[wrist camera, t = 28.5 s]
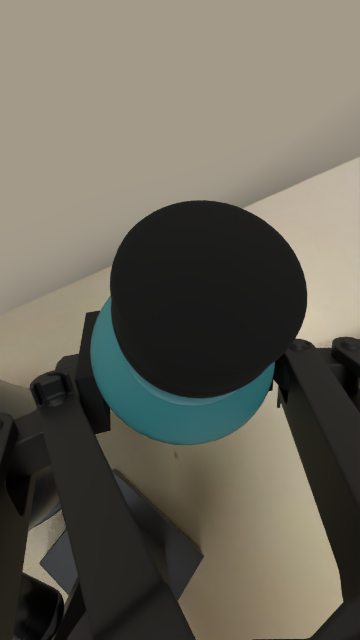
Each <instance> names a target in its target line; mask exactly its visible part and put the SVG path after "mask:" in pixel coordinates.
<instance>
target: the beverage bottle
mask: <svg viewBox="0 0 360 640" xmlns="http://www.w3.org/2000/svg"><path fill="white" fill-rule="evenodd" d="M110 291H111V296H110V297H109V299H108V300H107V301H106V303H105V304H104V306H103V307H102V309H101V311H100V313H99V315H98V317H97V320H96V323H95V325H94V329H93V333H92V338H91V349H90V353H91V365H92V370H93V375H94V378H95V380H96V383H97V386H98V388H99V390H100V392H101V394H102V396H103V398H104V400H105V401H106V403H107V404H108V405H109V407H110V408H111V409H112V411H113V412H114V413H115V414H116V415H117V416H118V417H119V418H120V419H121V420H122V421H123V422H124V423H126V424H127V425H128V426H129V427H131V428H132V429H134V430H135V431H137V432H139V433H140V434H142V435H145V436H147V437H149V438H151V439H154V440H157V441H160V442H164V443H169V444H175V445H196V444H204V443H208V442H212V441H215V440H218V439H220V438H223V437H225V436H227V435H229V434H231V433H233V432H235V431H236V430H238V429H239V428H240V427H242V426H243V425H244V424H245V423H247V421H248V420H249V419H250V418H251V417H252V416H253V415H254V414H255V413H256V411H257V410H258V409H259V407H260V406H261V404H262V403H263V401H264V399H265V397H266V395H267V393H268V391H269V388H270V385H271V383H272V378H273V374H274V368H275V361H276V360H277V359H279V358H280V357H281V356H282V355H283V354H284V353H285V352H286V351H287V350H288V348H289V347H290V345H291V344H292V343H293V341H294V340H295V338H296V336H297V334H298V332H299V330H300V328H301V326H302V323H303V320H304V317H305V313H306V307H307V288H306V281H305V277H304V273H303V270H302V268H301V265H300V262H299V260H298V258H297V257H296V255H295V253H294V251H293V250H292V248H291V247H290V245H289V244H288V243H287V242H286V240H285V239H284V238H283V237H282V236H281V235H280V234H279V233H278V232H277V231H276V230H275V229H274V228H273V227H272V226H270V225H269V224H268V223H267V222H265V221H264V220H262V219H261V218H259V217H258V216H256V215H254V214H252V213H250V212H248V211H246V210H244V209H241V208H239V207H237V206H233V205H230V204H227V203H221V202H216V201H206V200H205V201H204V200H203V201H186V202H180V203H176V204H172V205H169V206H166V207H164V208H161V209H159V210H157V211H155V212H153V213H151V214H150V215H148V216H146V217H145V218H144V219H142V220H141V221H140V222H138V223H137V224H136V225H135V226H134V227H133V228H132V229H131V230H130V231H129V232H128V234H127V235H126V237H125V238H124V239H123V241H122V243H121V245H120V246H119V248H118V251H117V253H116V256H115V258H114V261H113V265H112V270H111V276H110Z"/></svg>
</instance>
